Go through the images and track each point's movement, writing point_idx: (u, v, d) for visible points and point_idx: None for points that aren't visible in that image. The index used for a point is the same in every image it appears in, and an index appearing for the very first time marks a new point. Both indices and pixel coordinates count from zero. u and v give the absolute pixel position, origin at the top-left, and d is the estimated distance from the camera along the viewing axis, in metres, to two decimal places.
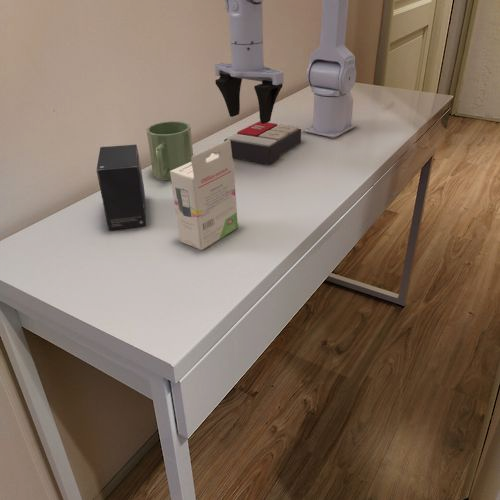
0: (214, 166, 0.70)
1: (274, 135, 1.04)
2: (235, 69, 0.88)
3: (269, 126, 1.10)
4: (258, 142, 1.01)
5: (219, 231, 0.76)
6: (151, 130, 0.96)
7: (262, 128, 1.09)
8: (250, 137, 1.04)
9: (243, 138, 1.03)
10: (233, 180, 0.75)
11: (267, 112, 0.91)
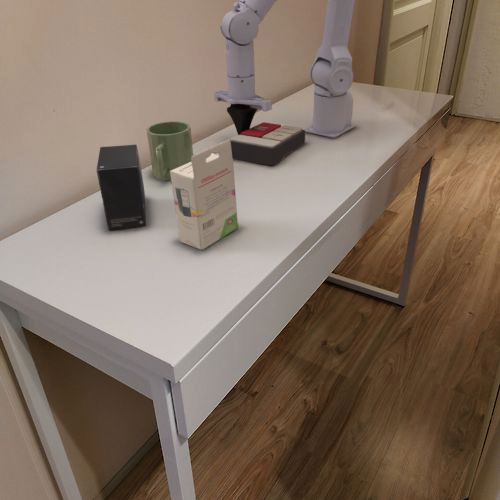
0: (214, 165, 0.70)
1: (278, 136, 1.03)
2: (231, 97, 1.05)
3: (273, 127, 1.10)
4: (261, 143, 1.00)
5: (219, 231, 0.76)
6: (151, 130, 0.96)
7: (266, 129, 1.08)
8: (253, 138, 1.03)
9: (246, 139, 1.03)
10: (233, 180, 0.75)
11: (245, 130, 1.10)
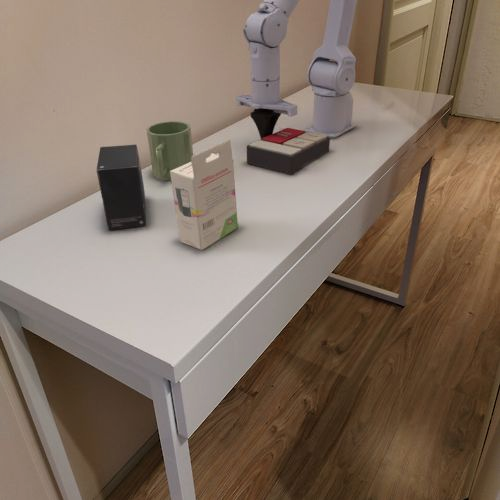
0: (214, 166, 0.70)
1: (299, 143, 0.99)
2: (255, 102, 1.01)
3: (296, 133, 1.06)
4: (281, 150, 0.96)
5: (219, 231, 0.76)
6: (151, 130, 0.96)
7: (288, 135, 1.04)
8: (274, 144, 1.00)
9: (266, 145, 0.99)
10: (233, 180, 0.75)
11: (268, 135, 1.06)
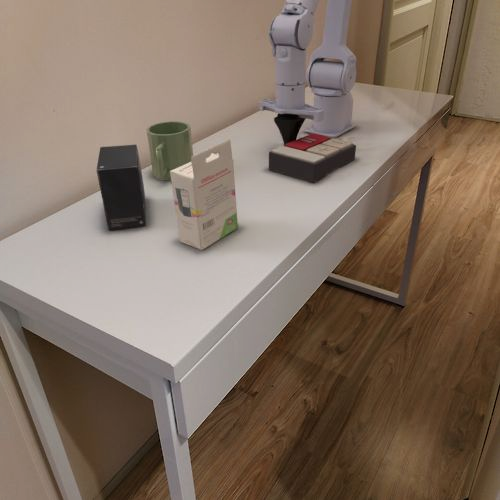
0: (214, 166, 0.70)
1: (323, 150, 0.96)
2: (279, 106, 0.97)
3: (321, 139, 1.02)
4: (303, 157, 0.93)
5: (219, 231, 0.76)
6: (151, 130, 0.96)
7: (313, 141, 1.01)
8: (297, 151, 0.96)
9: (289, 152, 0.96)
10: (233, 180, 0.75)
11: None
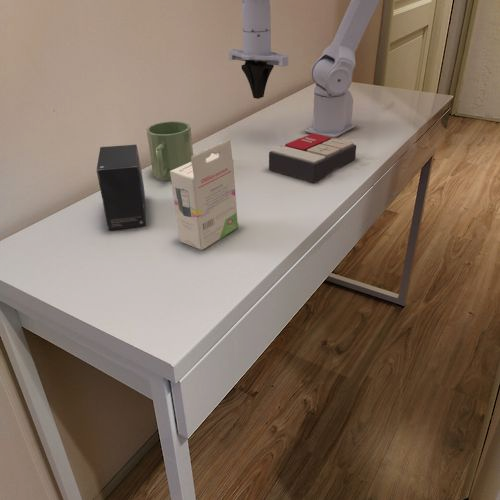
0: (214, 166, 0.70)
1: (323, 150, 0.96)
2: (246, 53, 1.03)
3: (321, 139, 1.02)
4: (304, 157, 0.93)
5: (219, 231, 0.76)
6: (151, 130, 0.96)
7: (313, 141, 1.01)
8: (297, 151, 0.96)
9: (289, 152, 0.96)
10: (233, 180, 0.75)
11: (261, 89, 1.08)
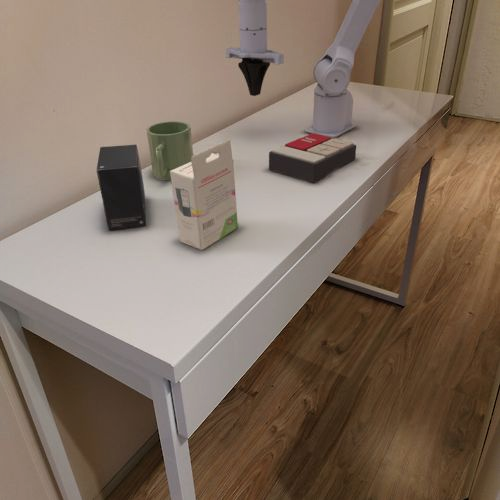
0: (214, 166, 0.70)
1: (323, 150, 0.96)
2: (243, 51, 1.05)
3: (321, 139, 1.02)
4: (304, 157, 0.93)
5: (219, 231, 0.76)
6: (151, 130, 0.96)
7: (313, 141, 1.01)
8: (297, 151, 0.96)
9: (289, 152, 0.96)
10: (233, 180, 0.75)
11: (257, 86, 1.10)
